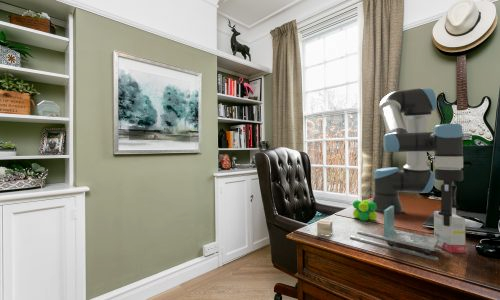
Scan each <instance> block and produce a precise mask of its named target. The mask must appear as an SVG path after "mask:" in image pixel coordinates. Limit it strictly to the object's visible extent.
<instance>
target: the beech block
mask: <svg viewBox="0 0 500 300" xmlns="http://www.w3.org/2000/svg"><path fill="white" fill-rule="evenodd" d="M316 225H317V226H316V229H317V230H316V235H317V234H323V235H329V236H330V235H331V236H332V234H333V233H332V232H333V220H326V219H319V220H318V221H317V222H316ZM331 233H332V234H331ZM331 236H330V237H331Z"/></svg>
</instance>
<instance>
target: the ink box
mask: <svg viewBox="0 0 500 300" xmlns="http://www.w3.org/2000/svg"><path fill="white" fill-rule="evenodd" d="M440 211H441V210H439V211H438V210H434V211H433V228H434V229H433V237H434V238H438V243H437V245H436V246H439V247H440V248H442V249H444V250H445V251H447V252H449V253H451V254H453V253H454V254H466V218H465V217H462V216H459V215H457V214H456V215H455V214H453V213H452V221H453V237H452V236H446V235H442V222H441V215H439V212H440Z"/></svg>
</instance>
